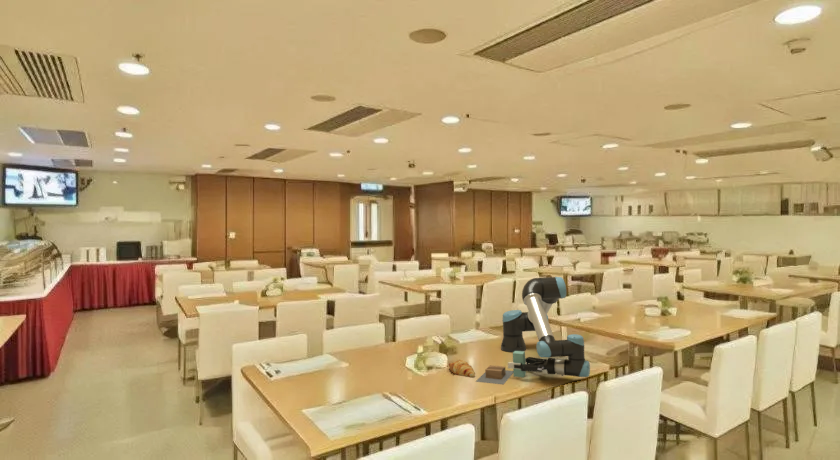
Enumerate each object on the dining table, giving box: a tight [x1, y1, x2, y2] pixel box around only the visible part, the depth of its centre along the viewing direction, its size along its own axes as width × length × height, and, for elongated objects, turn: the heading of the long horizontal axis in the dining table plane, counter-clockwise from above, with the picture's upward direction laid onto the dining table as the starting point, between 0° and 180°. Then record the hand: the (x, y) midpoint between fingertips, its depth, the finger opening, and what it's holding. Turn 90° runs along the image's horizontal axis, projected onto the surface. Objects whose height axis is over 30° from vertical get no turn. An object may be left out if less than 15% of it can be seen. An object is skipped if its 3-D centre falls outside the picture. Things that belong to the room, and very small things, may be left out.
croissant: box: [448, 359, 476, 378], centre depth 241 cm, size 21×10×8 cm, turn 33°
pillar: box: [512, 350, 527, 378], centre depth 233 cm, size 5×5×12 cm
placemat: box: [475, 369, 514, 385], centre depth 233 cm, size 22×14×1 cm, turn 154°
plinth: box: [484, 365, 506, 379], centre depth 233 cm, size 8×8×4 cm
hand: (510, 362), depth 235 cm, fingers open, 9 cm apart
